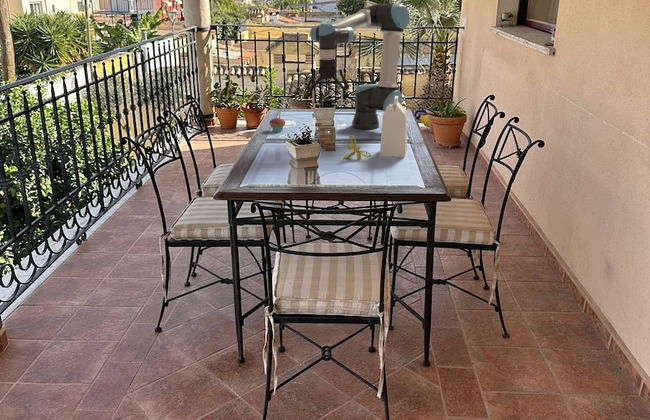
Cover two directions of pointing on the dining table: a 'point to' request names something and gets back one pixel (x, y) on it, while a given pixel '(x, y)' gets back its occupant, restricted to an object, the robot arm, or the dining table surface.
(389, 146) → the milk
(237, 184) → the dining table surface
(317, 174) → the dining table surface
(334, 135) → the birch cradle
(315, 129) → the dining table surface
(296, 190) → the dining table surface
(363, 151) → the decorative insect
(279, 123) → the cupcake
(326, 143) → the walnut bar
